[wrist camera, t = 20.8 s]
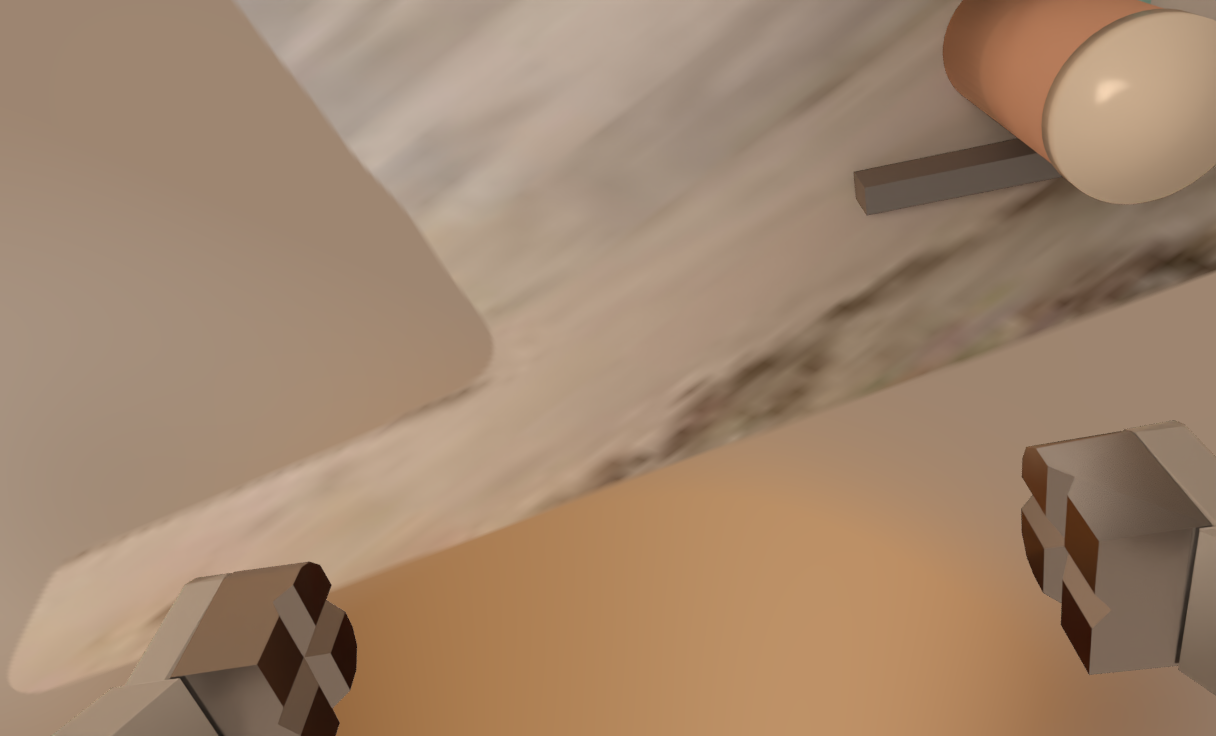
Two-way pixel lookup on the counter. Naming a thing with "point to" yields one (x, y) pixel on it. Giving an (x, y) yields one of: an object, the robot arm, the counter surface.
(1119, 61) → the terracotta jar
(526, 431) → the counter surface
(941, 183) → the pusher lane
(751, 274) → the counter surface
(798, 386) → the counter surface
